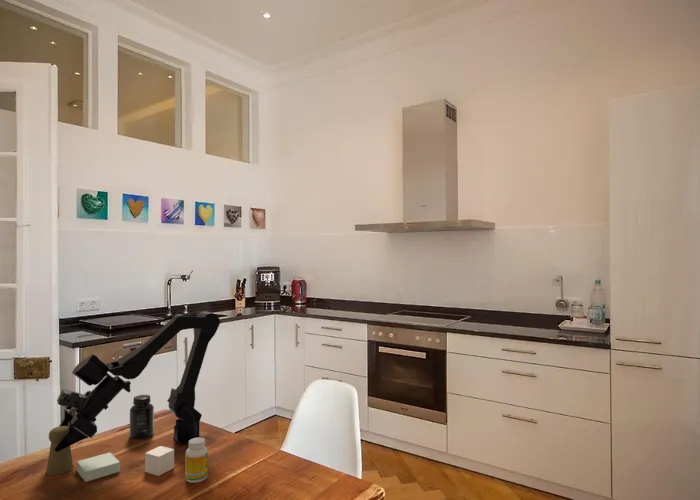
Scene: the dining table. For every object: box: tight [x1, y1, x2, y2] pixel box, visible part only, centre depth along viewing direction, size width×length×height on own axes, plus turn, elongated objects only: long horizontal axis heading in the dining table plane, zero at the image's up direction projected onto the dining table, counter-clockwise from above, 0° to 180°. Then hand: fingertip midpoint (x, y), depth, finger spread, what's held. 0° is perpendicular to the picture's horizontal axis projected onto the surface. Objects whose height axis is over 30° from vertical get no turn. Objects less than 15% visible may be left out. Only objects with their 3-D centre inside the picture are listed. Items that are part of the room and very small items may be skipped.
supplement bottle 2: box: [184, 437, 209, 484], centre depth 117 cm, size 5×5×10 cm
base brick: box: [76, 452, 121, 483], centre depth 120 cm, size 8×8×2 cm
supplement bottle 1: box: [129, 394, 155, 440], centre depth 144 cm, size 7×7×12 cm
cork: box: [45, 425, 74, 476], centre depth 121 cm, size 6×6×11 cm
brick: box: [144, 445, 175, 477], centre depth 121 cm, size 5×5×5 cm
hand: (54, 445), depth 120 cm, fingers open, 8 cm apart
